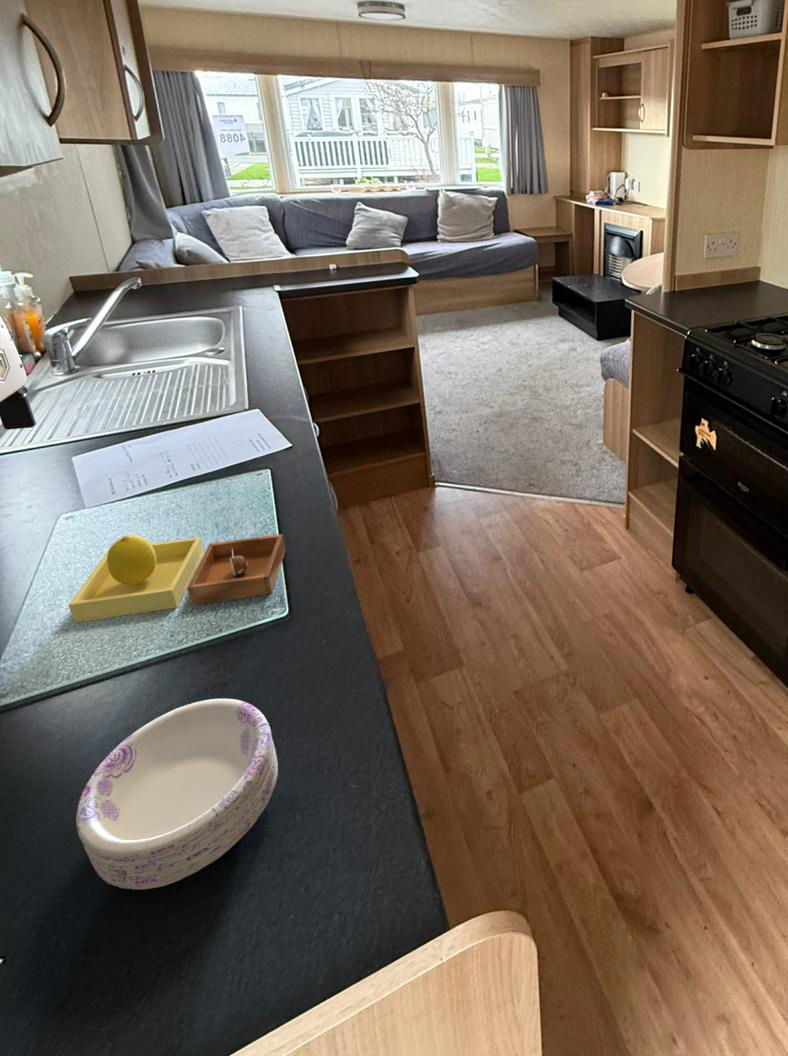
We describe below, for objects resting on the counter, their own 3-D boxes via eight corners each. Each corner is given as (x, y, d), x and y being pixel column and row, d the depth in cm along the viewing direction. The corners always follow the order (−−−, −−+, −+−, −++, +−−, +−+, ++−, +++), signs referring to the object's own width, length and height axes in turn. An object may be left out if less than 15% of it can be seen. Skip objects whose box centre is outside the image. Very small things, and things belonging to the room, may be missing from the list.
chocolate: (250, 576, 94) (244, 554, 93) (232, 581, 93) (227, 559, 92) (248, 565, 97) (243, 542, 95) (232, 570, 96) (226, 547, 94)
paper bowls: (99, 803, 64) (76, 745, 61) (268, 726, 72) (255, 671, 69) (97, 957, 52) (69, 894, 49) (299, 844, 60) (284, 784, 57)
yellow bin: (74, 623, 86) (68, 605, 85) (114, 565, 97) (109, 548, 96) (177, 607, 89) (172, 590, 88) (204, 553, 100) (200, 537, 99)
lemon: (146, 567, 96) (132, 521, 93) (170, 577, 94) (157, 531, 91) (106, 590, 92) (91, 542, 89) (131, 601, 89) (116, 553, 87)
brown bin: (191, 605, 89) (186, 588, 88) (213, 559, 99) (209, 543, 98) (271, 593, 92) (268, 576, 91) (285, 550, 101) (282, 533, 100)
